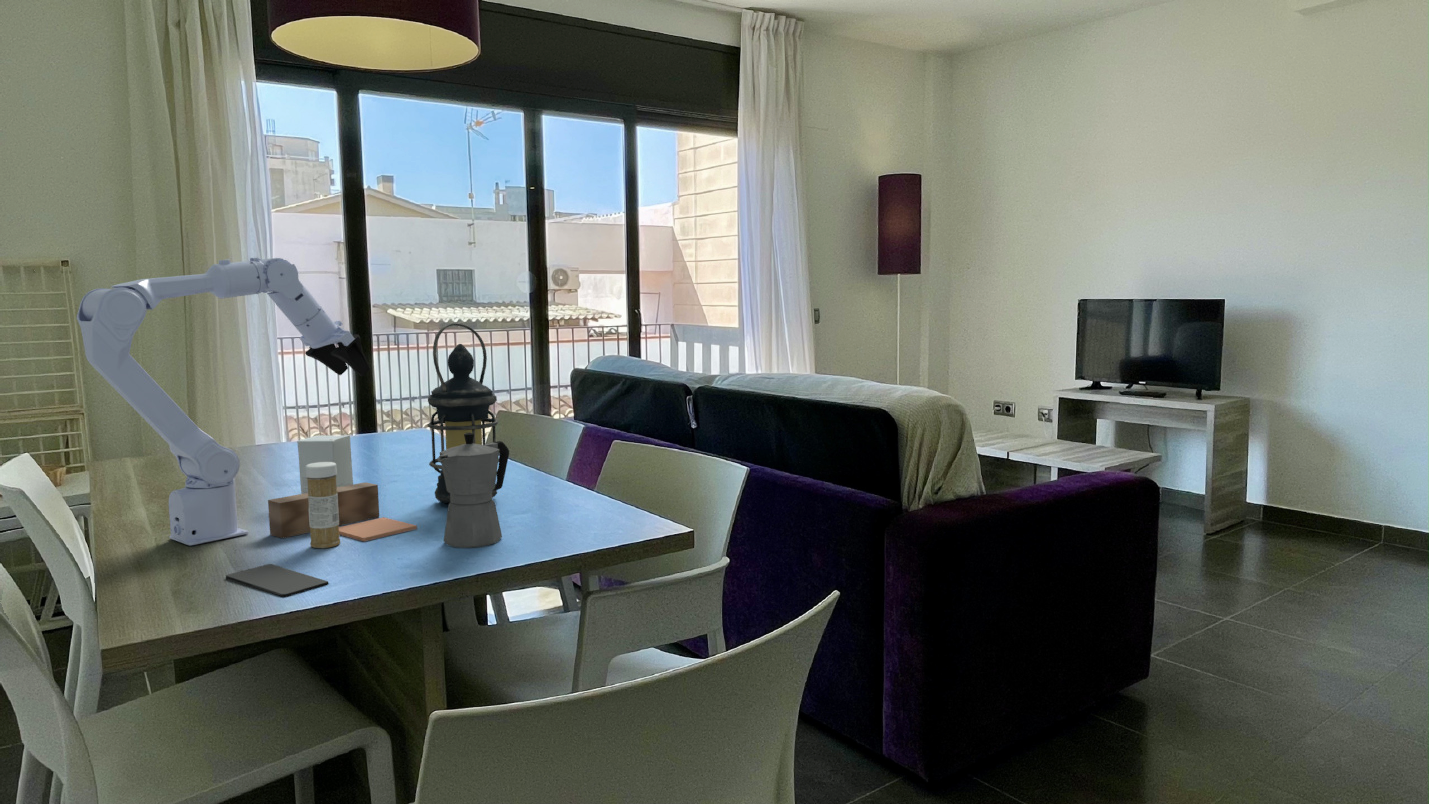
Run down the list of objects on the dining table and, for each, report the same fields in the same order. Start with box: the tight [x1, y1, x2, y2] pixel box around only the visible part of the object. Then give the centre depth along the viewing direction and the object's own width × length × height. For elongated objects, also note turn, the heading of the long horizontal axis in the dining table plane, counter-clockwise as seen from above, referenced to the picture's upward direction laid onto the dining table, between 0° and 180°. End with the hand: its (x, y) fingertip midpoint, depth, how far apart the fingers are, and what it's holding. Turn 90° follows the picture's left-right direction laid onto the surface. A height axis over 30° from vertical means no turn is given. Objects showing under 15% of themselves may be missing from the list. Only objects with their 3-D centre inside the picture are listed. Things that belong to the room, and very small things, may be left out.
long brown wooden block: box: [267, 482, 380, 539], centre depth 156 cm, size 18×4×6 cm, turn 143°
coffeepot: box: [436, 432, 510, 549], centre depth 146 cm, size 15×9×18 cm, turn 150°
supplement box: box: [296, 435, 354, 494], centre depth 176 cm, size 7×7×13 cm
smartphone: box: [225, 563, 329, 598], centre depth 125 cm, size 7×1×15 cm
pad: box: [339, 516, 418, 542], centre depth 153 cm, size 10×10×1 cm
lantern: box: [427, 322, 499, 504], centre depth 172 cm, size 14×13×35 cm
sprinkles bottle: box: [306, 462, 341, 549], centre depth 143 cm, size 5×5×13 cm
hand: (354, 372), depth 167 cm, fingers open, 7 cm apart
